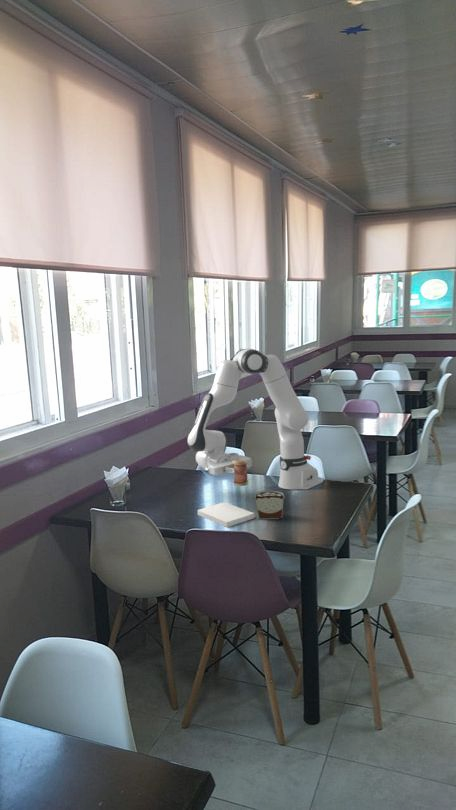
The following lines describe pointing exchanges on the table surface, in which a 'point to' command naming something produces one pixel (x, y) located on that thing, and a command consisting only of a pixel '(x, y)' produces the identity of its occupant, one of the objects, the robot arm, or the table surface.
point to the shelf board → (225, 514)
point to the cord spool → (240, 472)
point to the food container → (269, 504)
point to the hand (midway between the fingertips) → (241, 469)
